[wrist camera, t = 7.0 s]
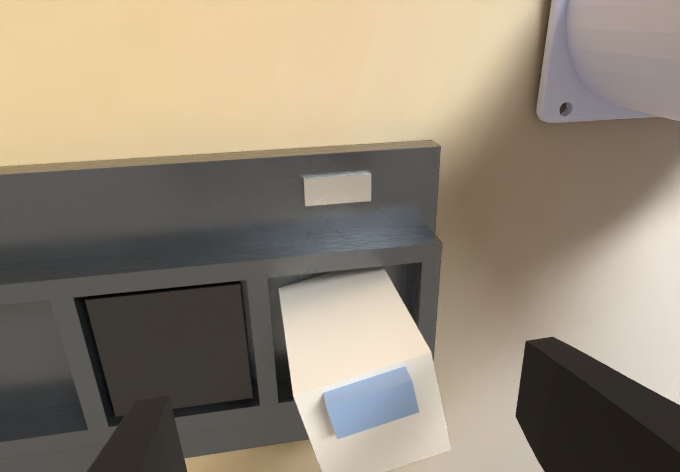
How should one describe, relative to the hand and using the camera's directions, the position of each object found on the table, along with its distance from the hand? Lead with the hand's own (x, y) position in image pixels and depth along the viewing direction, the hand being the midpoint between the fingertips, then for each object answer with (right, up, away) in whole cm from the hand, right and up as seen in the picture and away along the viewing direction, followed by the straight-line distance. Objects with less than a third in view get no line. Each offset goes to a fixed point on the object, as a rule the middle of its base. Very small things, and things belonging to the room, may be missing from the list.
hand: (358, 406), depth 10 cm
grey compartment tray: (-7, 0, +10) cm, 12 cm away
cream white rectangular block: (0, 0, +10) cm, 10 cm away
